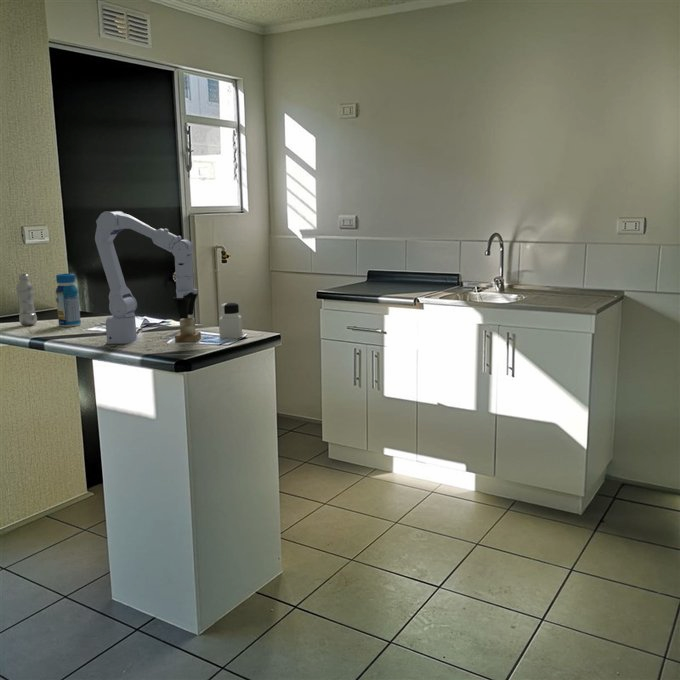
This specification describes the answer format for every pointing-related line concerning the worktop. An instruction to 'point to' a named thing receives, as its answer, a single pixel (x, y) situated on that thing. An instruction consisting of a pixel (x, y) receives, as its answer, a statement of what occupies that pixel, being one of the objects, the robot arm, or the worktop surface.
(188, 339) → the walnut slab
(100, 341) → the worktop surface
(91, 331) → the worktop surface
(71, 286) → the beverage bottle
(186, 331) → the maple block
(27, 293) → the plastic bottle
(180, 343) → the mat
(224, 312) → the medicine bottle
